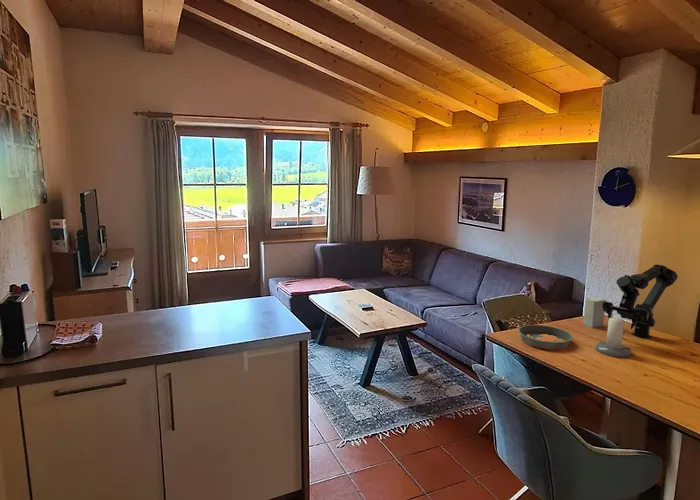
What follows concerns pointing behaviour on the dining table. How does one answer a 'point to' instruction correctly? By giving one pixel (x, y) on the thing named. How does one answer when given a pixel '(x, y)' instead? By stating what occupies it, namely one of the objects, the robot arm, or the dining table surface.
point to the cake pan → (542, 329)
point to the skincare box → (594, 312)
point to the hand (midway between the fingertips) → (619, 326)
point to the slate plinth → (620, 353)
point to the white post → (614, 333)
